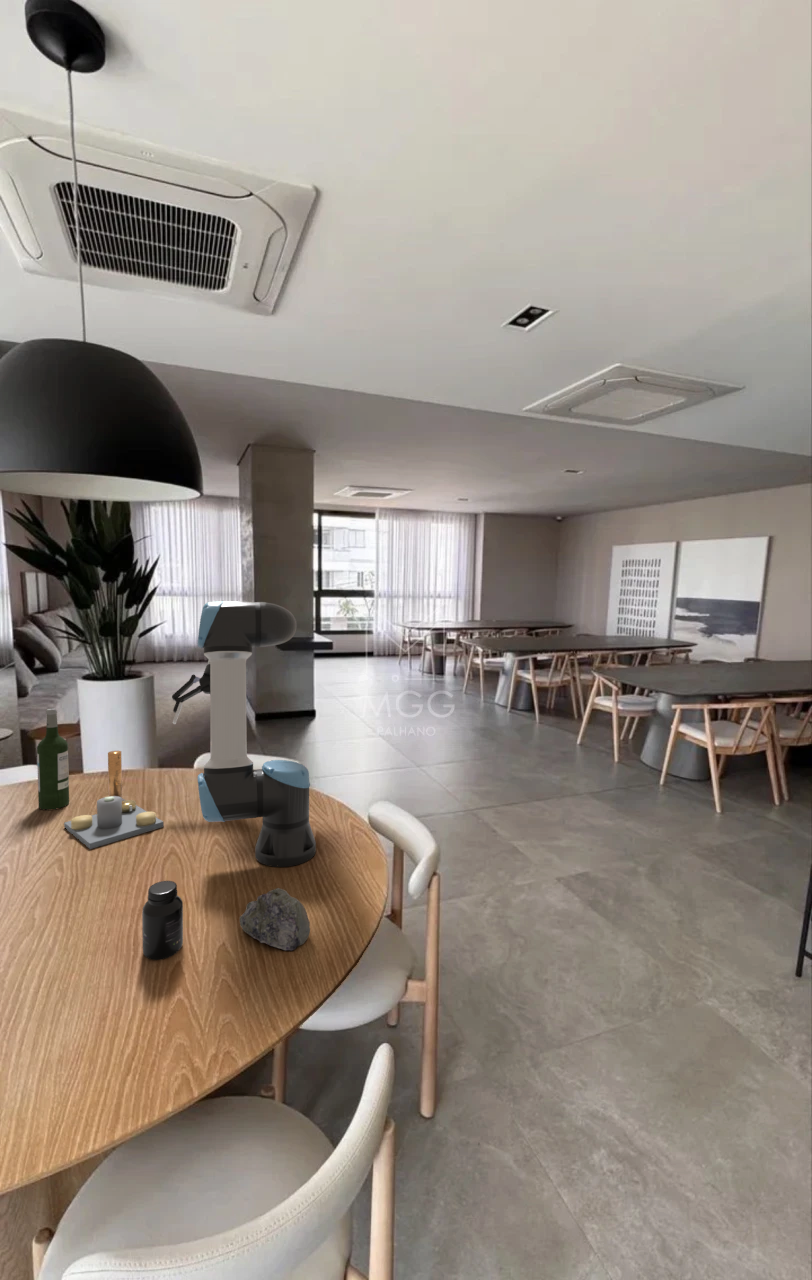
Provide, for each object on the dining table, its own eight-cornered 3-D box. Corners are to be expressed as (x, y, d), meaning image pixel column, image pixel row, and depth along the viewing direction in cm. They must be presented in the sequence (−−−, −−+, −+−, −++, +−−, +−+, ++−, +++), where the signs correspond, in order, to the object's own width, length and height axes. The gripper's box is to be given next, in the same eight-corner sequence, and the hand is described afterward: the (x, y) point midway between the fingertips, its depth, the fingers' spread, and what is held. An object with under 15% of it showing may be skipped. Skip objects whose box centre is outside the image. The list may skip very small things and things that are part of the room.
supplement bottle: (133, 955, 98) (132, 891, 97) (163, 934, 105) (162, 874, 104) (163, 965, 96) (162, 900, 95) (191, 943, 102) (190, 881, 101)
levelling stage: (163, 826, 153) (163, 795, 152) (89, 849, 139) (89, 814, 138) (134, 808, 166) (134, 779, 165) (64, 827, 151) (63, 795, 150)
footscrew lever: (139, 809, 161) (138, 758, 159) (122, 814, 157) (121, 761, 156) (121, 798, 169) (120, 749, 168) (104, 802, 165) (103, 752, 164)
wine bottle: (69, 807, 166) (67, 710, 164) (38, 812, 161) (35, 712, 159) (68, 799, 172) (66, 705, 170) (38, 803, 168) (35, 708, 166)
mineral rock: (236, 928, 107) (236, 879, 106) (287, 911, 113) (288, 864, 113) (261, 965, 97) (261, 910, 96) (315, 943, 103) (316, 892, 102)
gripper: (255, 681, 185) (235, 741, 176) (180, 660, 181) (156, 721, 171) (256, 674, 179) (235, 736, 169) (179, 653, 174) (153, 715, 165)
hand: (195, 728), depth 170 cm, fingers open, 13 cm apart
